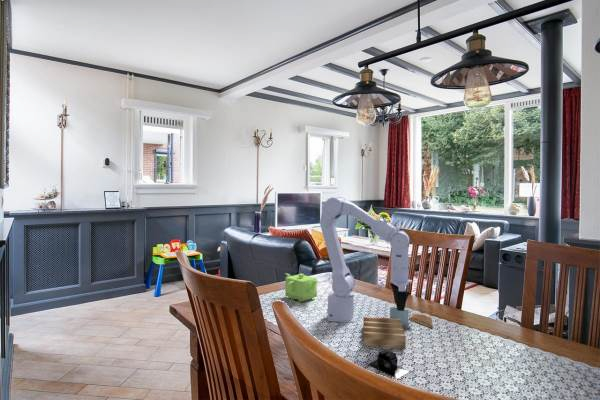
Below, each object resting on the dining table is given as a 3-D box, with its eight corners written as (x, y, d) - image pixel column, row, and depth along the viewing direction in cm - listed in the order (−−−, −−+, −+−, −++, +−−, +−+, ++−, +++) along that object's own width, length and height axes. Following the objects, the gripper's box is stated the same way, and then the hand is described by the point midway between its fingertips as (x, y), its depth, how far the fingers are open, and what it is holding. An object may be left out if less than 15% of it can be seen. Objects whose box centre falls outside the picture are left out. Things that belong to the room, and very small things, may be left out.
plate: (390, 326, 122) (390, 308, 122) (389, 324, 124) (389, 307, 124) (408, 327, 121) (408, 309, 121) (407, 325, 123) (407, 308, 123)
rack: (363, 346, 107) (364, 333, 107) (363, 328, 121) (363, 316, 121) (405, 349, 105) (405, 335, 105) (399, 330, 119) (400, 318, 119)
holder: (388, 329, 120) (389, 326, 120) (387, 323, 125) (387, 320, 125) (410, 330, 119) (410, 327, 119) (408, 324, 124) (408, 321, 124)
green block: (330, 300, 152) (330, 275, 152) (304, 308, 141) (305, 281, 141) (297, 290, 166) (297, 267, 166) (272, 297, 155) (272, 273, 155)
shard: (432, 331, 120) (432, 326, 120) (409, 328, 122) (409, 323, 122) (431, 320, 130) (431, 315, 130) (409, 317, 133) (409, 312, 133)
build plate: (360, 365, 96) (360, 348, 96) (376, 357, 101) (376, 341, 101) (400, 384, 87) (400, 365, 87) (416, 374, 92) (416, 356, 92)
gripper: (415, 272, 114) (414, 314, 114) (408, 263, 128) (408, 300, 129) (392, 271, 115) (392, 313, 115) (388, 262, 129) (388, 299, 130)
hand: (399, 306), depth 122 cm, fingers open, 7 cm apart
